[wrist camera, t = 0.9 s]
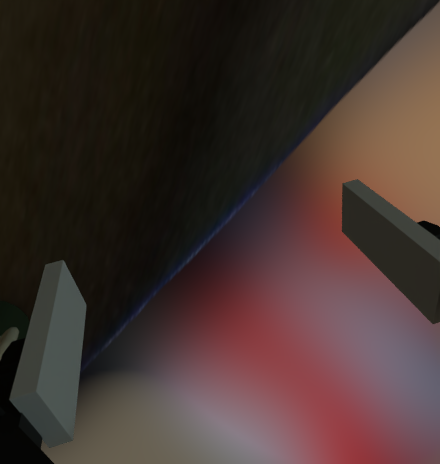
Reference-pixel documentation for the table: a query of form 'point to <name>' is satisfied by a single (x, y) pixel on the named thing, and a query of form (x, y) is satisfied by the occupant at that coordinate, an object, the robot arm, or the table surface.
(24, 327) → the character mug
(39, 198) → the table surface
